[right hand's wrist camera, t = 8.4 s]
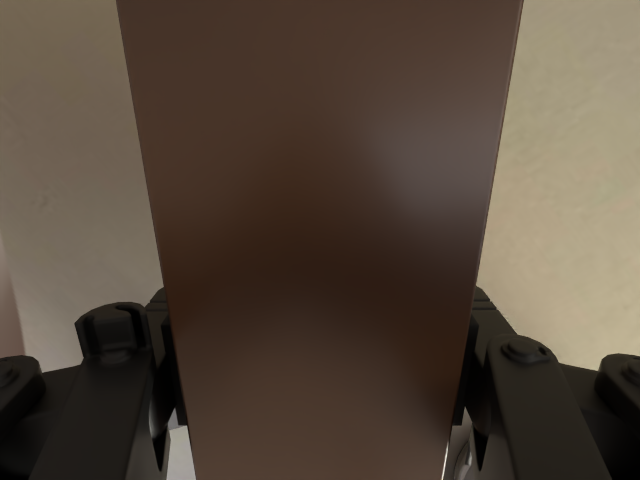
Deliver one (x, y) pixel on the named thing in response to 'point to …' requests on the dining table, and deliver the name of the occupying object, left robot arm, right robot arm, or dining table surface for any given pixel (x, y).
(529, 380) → the right robot arm
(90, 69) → the dining table surface
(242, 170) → the bar
